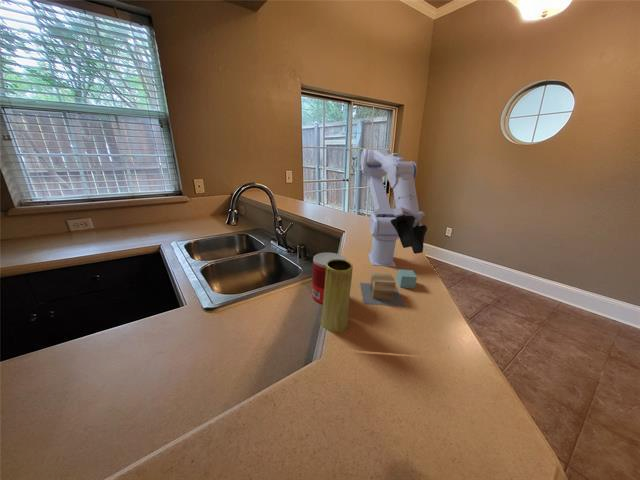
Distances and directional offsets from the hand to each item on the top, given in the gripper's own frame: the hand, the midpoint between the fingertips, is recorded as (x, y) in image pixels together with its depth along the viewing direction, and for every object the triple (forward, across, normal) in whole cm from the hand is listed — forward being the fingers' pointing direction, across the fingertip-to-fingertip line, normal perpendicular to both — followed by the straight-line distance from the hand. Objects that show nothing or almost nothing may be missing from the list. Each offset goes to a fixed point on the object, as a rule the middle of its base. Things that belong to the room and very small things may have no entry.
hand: (413, 250), depth 63 cm
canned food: (+11, -11, +20) cm, 25 cm away
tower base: (+10, 0, +10) cm, 14 cm away
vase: (+17, -16, +14) cm, 27 cm away
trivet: (+10, 0, +10) cm, 14 cm away
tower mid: (+8, -1, +9) cm, 12 cm away
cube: (+7, +9, +6) cm, 13 cm away
